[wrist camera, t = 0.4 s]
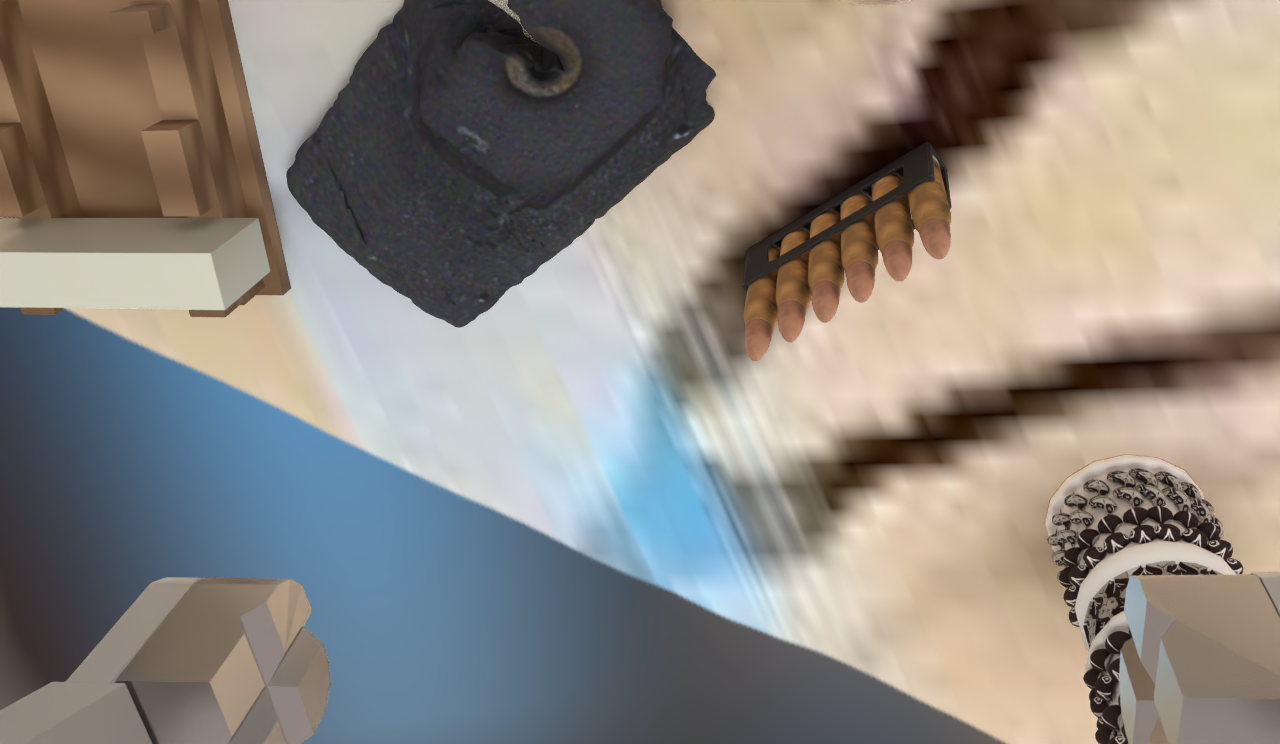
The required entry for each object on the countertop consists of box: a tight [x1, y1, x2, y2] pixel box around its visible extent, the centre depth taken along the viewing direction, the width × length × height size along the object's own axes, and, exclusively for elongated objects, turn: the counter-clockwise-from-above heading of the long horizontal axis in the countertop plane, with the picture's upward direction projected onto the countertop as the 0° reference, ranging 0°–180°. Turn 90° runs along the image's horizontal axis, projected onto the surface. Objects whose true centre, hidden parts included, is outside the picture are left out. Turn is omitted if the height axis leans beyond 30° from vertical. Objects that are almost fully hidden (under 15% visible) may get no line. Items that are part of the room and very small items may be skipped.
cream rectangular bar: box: [0, 218, 270, 310], centre depth 57 cm, size 16×3×5 cm, turn 94°
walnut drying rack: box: [0, 0, 291, 317], centre depth 58 cm, size 17×14×6 cm
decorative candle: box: [1045, 455, 1243, 744], centre depth 51 cm, size 9×9×25 cm
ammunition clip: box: [742, 141, 951, 361], centre depth 51 cm, size 11×2×12 cm, turn 126°
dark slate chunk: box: [286, 0, 716, 327], centre depth 55 cm, size 15×22×5 cm
